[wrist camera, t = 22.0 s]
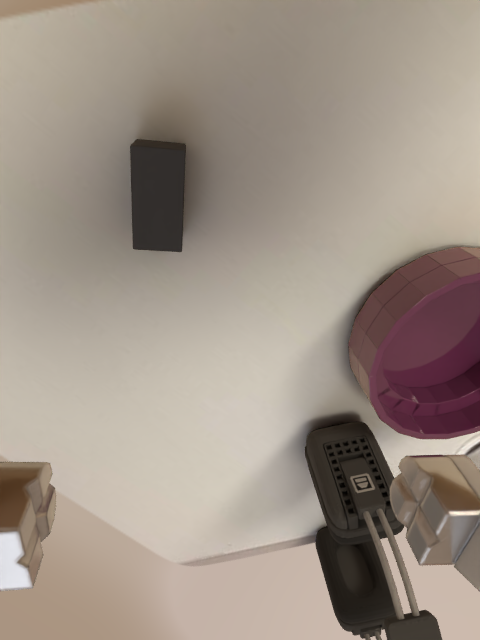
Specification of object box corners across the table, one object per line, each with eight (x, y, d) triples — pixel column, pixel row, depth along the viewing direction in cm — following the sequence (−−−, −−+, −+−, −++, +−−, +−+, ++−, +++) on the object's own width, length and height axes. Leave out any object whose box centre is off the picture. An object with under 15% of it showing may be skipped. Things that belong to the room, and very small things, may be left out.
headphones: (299, 420, 38) (394, 697, 21) (365, 406, 38) (514, 671, 21) (315, 553, 49) (385, 805, 32) (366, 542, 49) (463, 787, 32)
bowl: (373, 238, 30) (404, 263, 25) (554, 250, 32) (611, 276, 28) (329, 399, 37) (348, 440, 33) (479, 400, 39) (515, 438, 35)
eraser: (136, 138, 25) (130, 144, 22) (185, 143, 25) (185, 150, 23) (137, 234, 28) (132, 249, 25) (182, 237, 28) (181, 252, 25)
